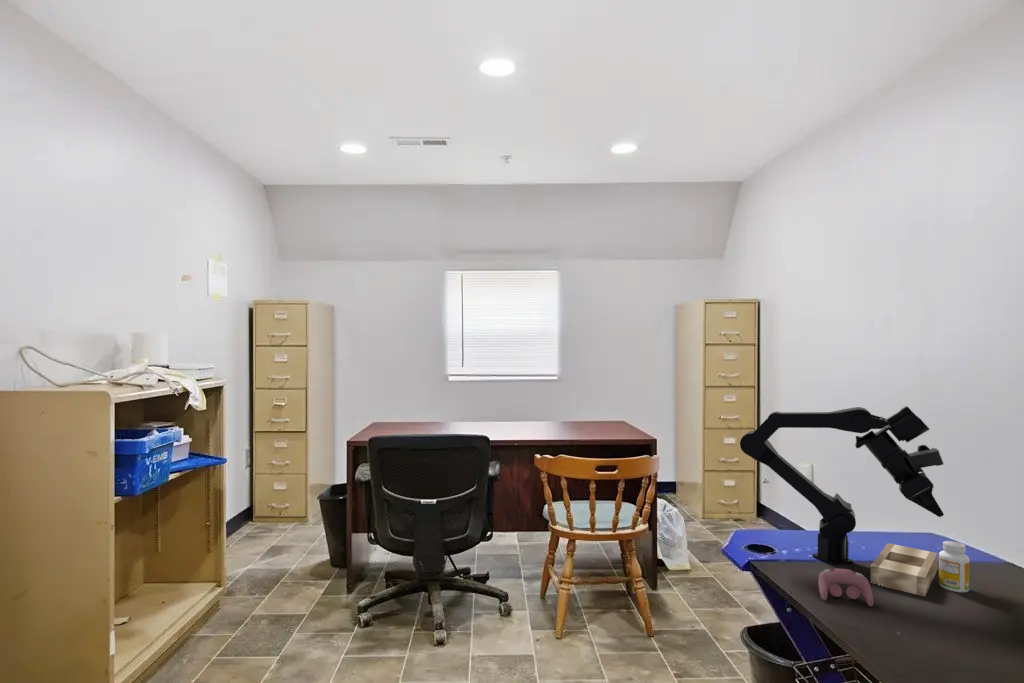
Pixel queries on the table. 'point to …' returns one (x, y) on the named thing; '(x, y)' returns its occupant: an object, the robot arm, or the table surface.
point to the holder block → (904, 569)
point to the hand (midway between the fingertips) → (938, 510)
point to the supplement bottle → (954, 567)
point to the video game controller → (843, 576)
